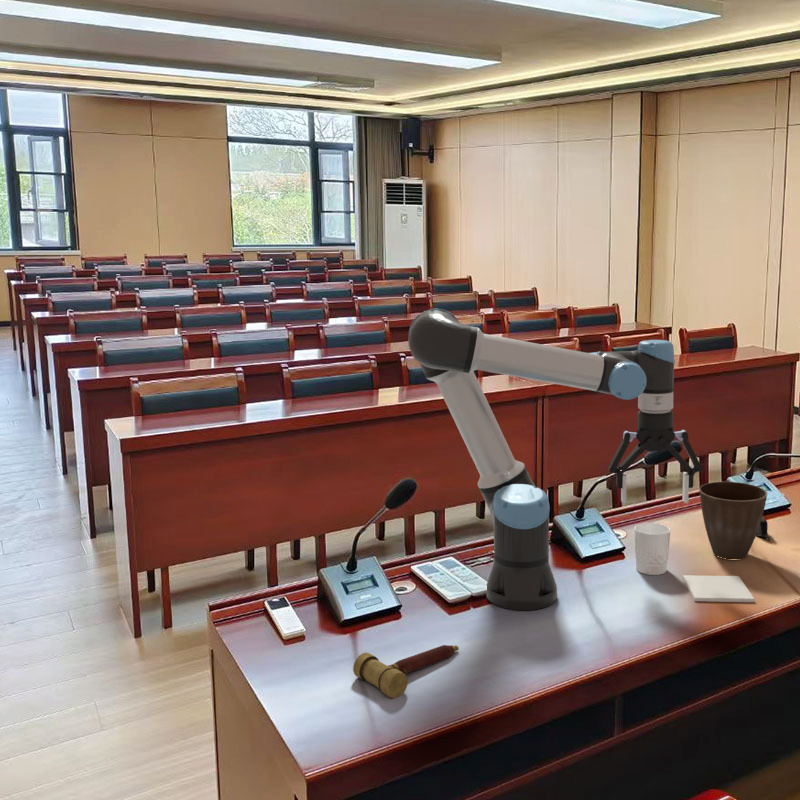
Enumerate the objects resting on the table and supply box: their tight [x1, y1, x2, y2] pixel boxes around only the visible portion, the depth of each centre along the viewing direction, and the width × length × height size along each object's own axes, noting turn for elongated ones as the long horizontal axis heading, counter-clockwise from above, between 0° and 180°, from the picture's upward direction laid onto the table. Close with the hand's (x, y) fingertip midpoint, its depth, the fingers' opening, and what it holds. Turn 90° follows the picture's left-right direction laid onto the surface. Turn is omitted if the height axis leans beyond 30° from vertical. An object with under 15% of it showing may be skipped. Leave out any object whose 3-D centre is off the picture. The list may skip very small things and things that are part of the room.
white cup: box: [633, 522, 671, 576], centre depth 195 cm, size 8×8×10 cm
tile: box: [682, 574, 755, 603], centre depth 184 cm, size 12×12×1 cm
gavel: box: [352, 644, 459, 700], centre depth 154 cm, size 21×5×10 cm
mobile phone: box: [756, 516, 771, 541], centre depth 219 cm, size 5×3×15 cm
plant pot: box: [699, 481, 768, 560], centre depth 202 cm, size 15×15×16 cm
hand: (654, 501), depth 193 cm, fingers open, 13 cm apart
